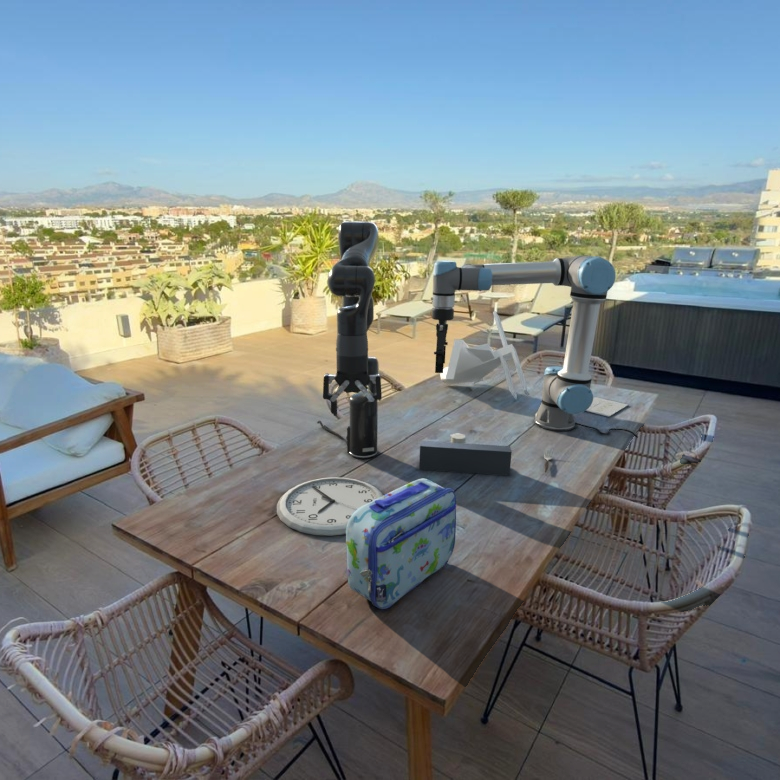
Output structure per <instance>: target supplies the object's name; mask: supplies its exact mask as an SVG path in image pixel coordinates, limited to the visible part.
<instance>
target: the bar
mask: <svg viewBox="0 0 780 780" xmlns="http://www.w3.org/2000/svg"><path fill="white" fill-rule="evenodd" d="M450 442H451V441H450ZM450 442H449V441H448V442H446V441H431V440H420V445H419V464H418V465H419V466H418V469H419V470H420V471H434V472H435V471H436V472H449V473H450V472H451V473H465V474H479V475H480V474H482V475H495V476H510V475H511V464H512V455H513V453H512V448H511V445H500V444H499V445H497V444H484V443H483V444H482V443H481V444H480V443H466V442H465V443H450Z"/></svg>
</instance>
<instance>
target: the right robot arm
mask: <svg viewBox="0 0 780 780" xmlns="http://www.w3.org/2000/svg"><path fill="white" fill-rule="evenodd" d="M432 273H433V274H432V297H431V296H430V300H431V301H432V303H431V306H432V308H431V319H432V320H435V321H438V323H436V325H435V330H436V334H435V337H436V349H435V350H436V351H433V355H435V367H434V373H436V374H440V373H443V369H444V364H446V352H447V351H446V350H447V349H446V348H447V346H448V344H449V342H448V341H447V334H448V330H449V323H447V321H451V320H454V316H455V309H454V307H455V303H456V302H455V300H456V291H475V292H477V291H478V292H483V291H484V292H485V291H490V289H491V287H492V286H509V285H511V286H512V285H536V284H537V285H538V284H540V285H541V284H552V285H554V286H556V287H557V286H558V287H560V286H563V287H570V294H569V297H570V298H571V299H572V301H573V304H572V309H571V315H570V322H569V327H568V328H569V329H568V335H567V340H566V345H565V353H564V354H565V355H564V358H563V365H562V366H548V367H546V368H545V370H544V374H543V381H542V382H543V384H542V394H541V402H540V405H539V407H538V410H537V411H536V413H535V414H534V416H535V417H534V424H535V425H536V426H537V427H539V428H542V429H544V430H549V431H556V432H567V431H572V430H574V429H575V428H576V426H580V427H583V428H586V429H591V430H594V431H596V432H598V433H599V434H600V435H601V436H608V435H610V434H611V431H621V432H627V433H629V434H631V435H633V436H634V437H635V438H637V439H638V438H639V436H638V435H637V434H636V433H635V432H633V431H632V430H630V429H627V428H617V427H616V428H615V427H614V428H611V427H610V428H609V429H608V430H607V432H602V431H601V430H600V429H599V428H597V427H593V426H590V425H586V424H582V423H579V422H576V418H575V417H576V416H575V415H581V414H582V413H584V412H587V411H586V410H587V409H588V408H589V407H590V406H591V404H592V402H593V398H594V393H593V391H592V389H591V384H592V379H593V377H592V375H591V374H590V371H589V369H590V365H591V358H592V354H593V347H594V341H595V336H596V330H597V324H598V318H599V313H600V309H601V304H602V303H603V302H605V301H606V300H607V296H608V292H609V291H610V290H611V289H612V288H613V286H614V284H615V282H616V276H617V275H616V270H615V267H614V265H613V264H612V263H611V262H610V261H609V260H608V259H605V258H603V257H601V256H593V255H587V254H582V255H575V256H569V257H559V258H554V259H553V260H552V261H534V262H533V261H532V262H531V261H529V262H510V263H509V262H507V263H506V262H505V263H484V264H471V263H467V264H466V263H465V264H463V265H461V266H457V262H456V261H454V260H452V261H451V260H436V261H435V263H433V272H432Z"/></svg>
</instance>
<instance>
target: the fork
mask: <svg viewBox="0 0 780 780" xmlns="http://www.w3.org/2000/svg"><path fill="white" fill-rule="evenodd" d="M553 451H554V450H553V448H552V451H551V449H549V451H547V450H545V452H544V455H543V459H545V460H546V461H545V463H544V473H547V470H548V468H549V461H551V460H553Z"/></svg>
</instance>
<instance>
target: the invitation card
mask: <svg viewBox="0 0 780 780" xmlns="http://www.w3.org/2000/svg"><path fill="white" fill-rule="evenodd" d="M628 406H629V404H627V403H623V402H618V401H614V400H609V399H605V398H601V397H596V396H593V402H592V404H591V406H590V407H589V408H588V409H587V410H586V411H585V412H587V413H593V414H596V415H600V416H604V417H608V418H609V417H611V416H613V415H614V414H616V413H617V412H619V411H621V410H623V409H624V408H626V407H628Z"/></svg>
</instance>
